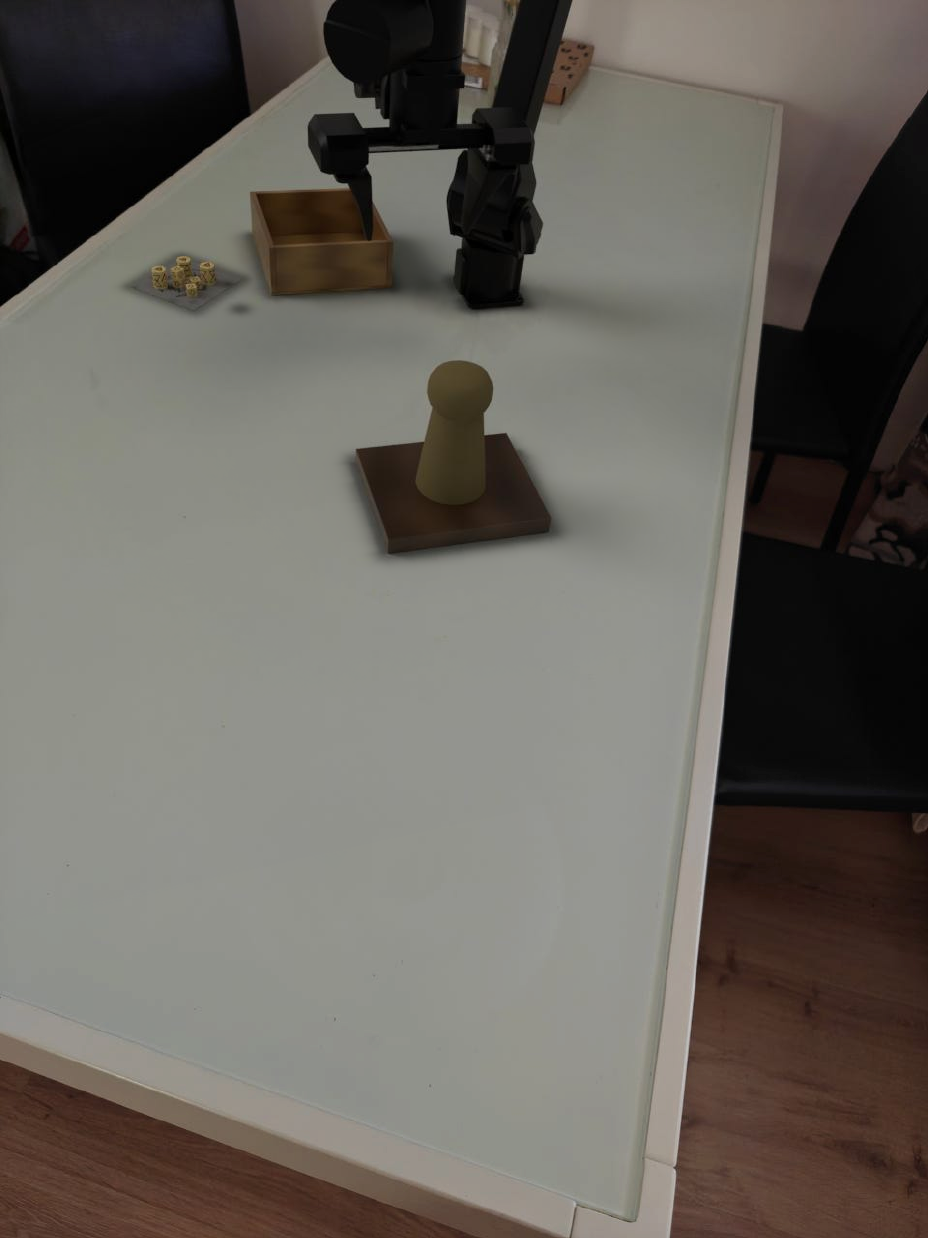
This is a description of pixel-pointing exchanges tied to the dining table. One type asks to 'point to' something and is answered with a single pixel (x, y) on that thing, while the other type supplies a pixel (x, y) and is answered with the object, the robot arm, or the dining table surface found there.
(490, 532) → the walnut board
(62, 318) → the dining table surface
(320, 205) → the wooden box
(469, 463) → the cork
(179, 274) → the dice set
